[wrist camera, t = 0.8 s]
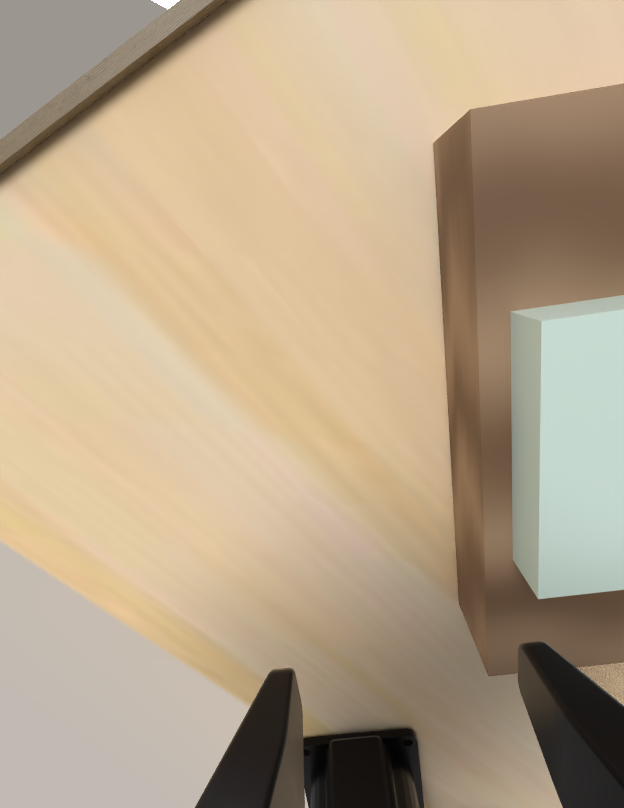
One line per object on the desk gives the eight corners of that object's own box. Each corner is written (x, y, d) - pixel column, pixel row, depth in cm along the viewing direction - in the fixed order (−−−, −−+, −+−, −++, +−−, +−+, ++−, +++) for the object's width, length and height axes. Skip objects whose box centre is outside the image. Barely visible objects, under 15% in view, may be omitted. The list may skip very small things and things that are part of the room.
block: (682, 539, 16) (731, 577, 14) (512, 559, 17) (538, 599, 15) (716, 281, 14) (781, 286, 12) (510, 311, 14) (541, 321, 12)
